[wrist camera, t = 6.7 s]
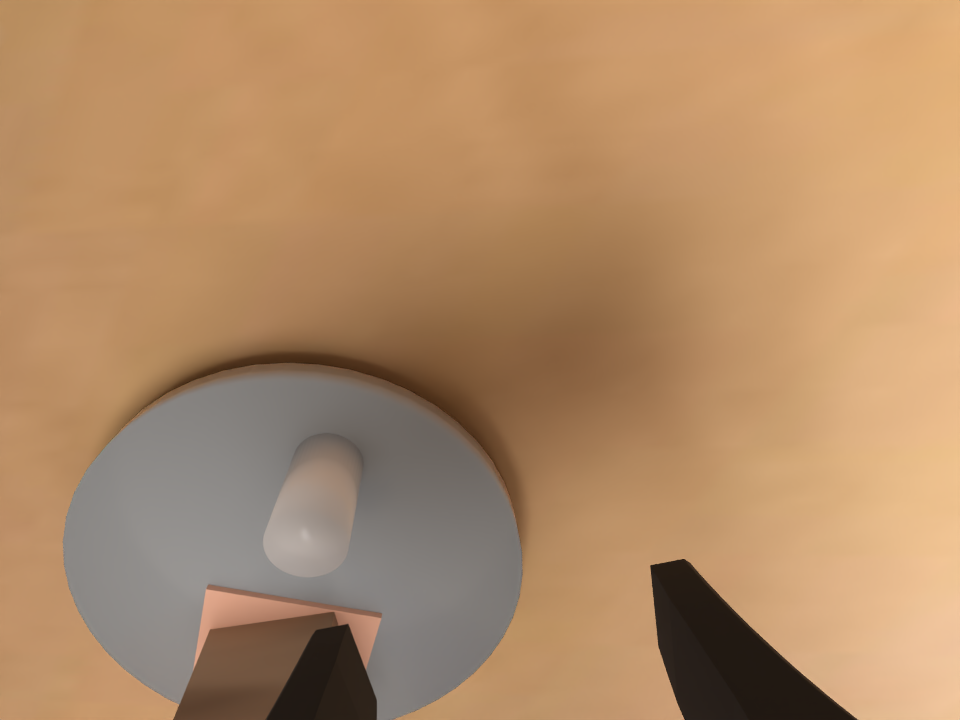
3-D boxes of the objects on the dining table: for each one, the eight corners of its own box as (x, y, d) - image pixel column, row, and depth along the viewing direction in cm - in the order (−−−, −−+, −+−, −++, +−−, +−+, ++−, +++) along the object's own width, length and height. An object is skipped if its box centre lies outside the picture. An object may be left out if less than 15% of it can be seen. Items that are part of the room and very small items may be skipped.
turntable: (455, 725, 25) (460, 859, 21) (73, 672, 23) (-11, 811, 18) (576, 421, 20) (614, 517, 16) (95, 311, 17) (-16, 387, 13)
